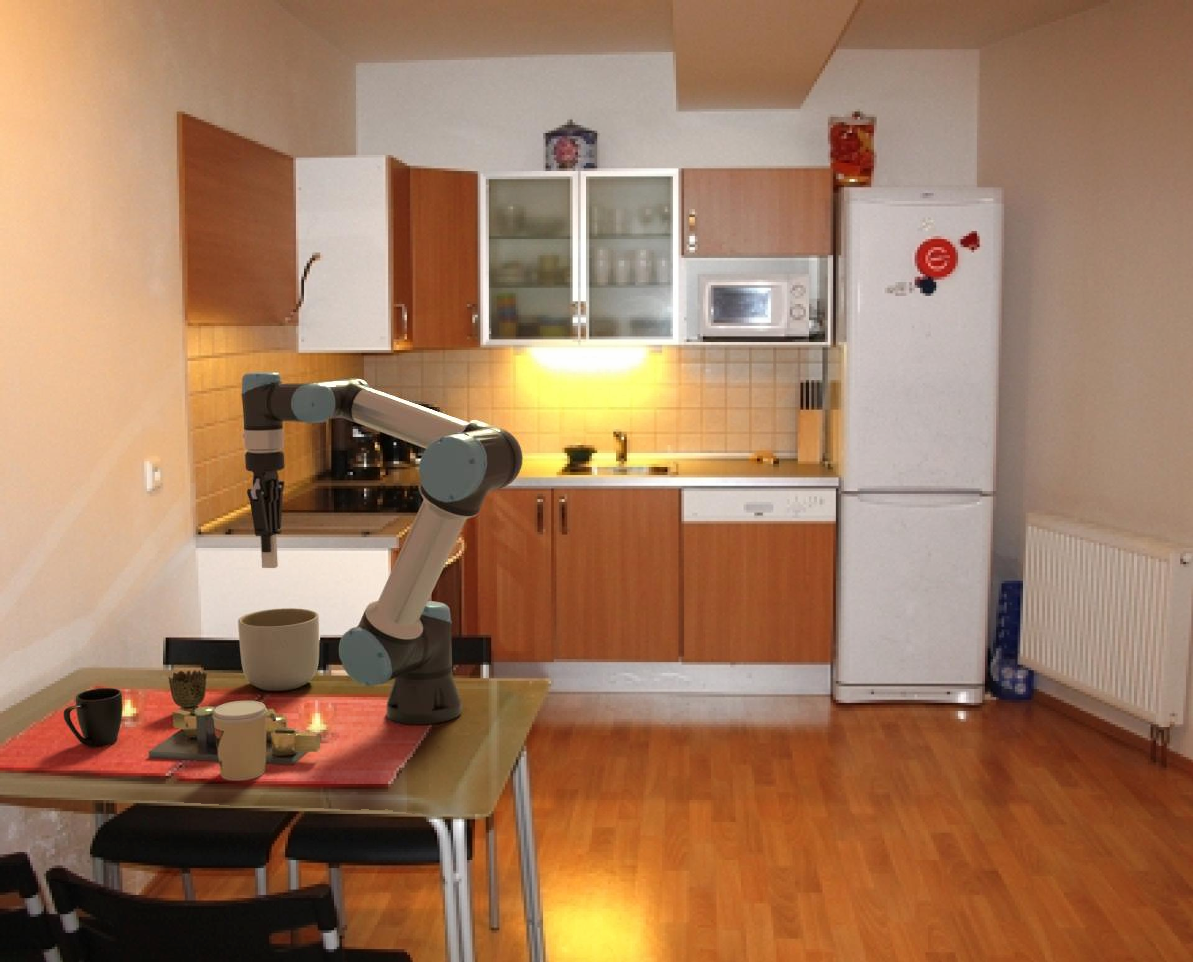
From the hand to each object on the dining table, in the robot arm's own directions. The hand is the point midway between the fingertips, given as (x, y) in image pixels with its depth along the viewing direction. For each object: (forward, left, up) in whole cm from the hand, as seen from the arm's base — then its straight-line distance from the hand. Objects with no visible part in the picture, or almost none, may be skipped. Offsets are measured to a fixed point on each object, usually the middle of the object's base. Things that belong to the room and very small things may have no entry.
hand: (269, 567), depth 263 cm
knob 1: (+10, +17, -29) cm, 35 cm away
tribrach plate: (-1, +21, -30) cm, 37 cm away
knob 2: (-6, +16, -29) cm, 33 cm away
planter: (+7, -19, -31) cm, 37 cm away
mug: (+27, +23, -31) cm, 47 cm away
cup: (+18, +2, -31) cm, 36 cm away
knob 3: (-14, +25, -29) cm, 41 cm away
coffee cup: (-8, +33, -31) cm, 46 cm away
